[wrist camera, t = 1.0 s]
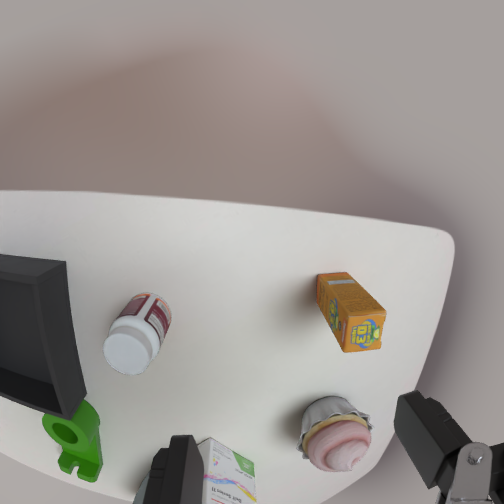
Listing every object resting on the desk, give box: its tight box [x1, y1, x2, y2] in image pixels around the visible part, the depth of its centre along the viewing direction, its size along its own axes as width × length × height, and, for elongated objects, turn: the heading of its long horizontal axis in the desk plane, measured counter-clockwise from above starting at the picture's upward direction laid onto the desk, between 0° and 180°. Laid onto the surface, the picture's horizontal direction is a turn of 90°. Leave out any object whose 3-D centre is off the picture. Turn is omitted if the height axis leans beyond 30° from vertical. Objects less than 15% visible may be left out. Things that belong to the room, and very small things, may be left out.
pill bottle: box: [103, 293, 171, 375], centre depth 26 cm, size 5×5×8 cm
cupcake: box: [296, 397, 374, 472], centre depth 29 cm, size 9×9×10 cm
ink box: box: [197, 438, 256, 504], centre depth 28 cm, size 9×5×15 cm, turn 43°
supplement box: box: [317, 272, 386, 352], centre depth 25 cm, size 3×3×10 cm
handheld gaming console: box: [133, 472, 150, 504], centre depth 32 cm, size 14×3×8 cm, turn 149°
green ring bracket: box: [42, 399, 103, 482], centre depth 31 cm, size 15×7×5 cm, turn 166°
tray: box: [0, 254, 87, 421], centre depth 27 cm, size 18×17×6 cm
